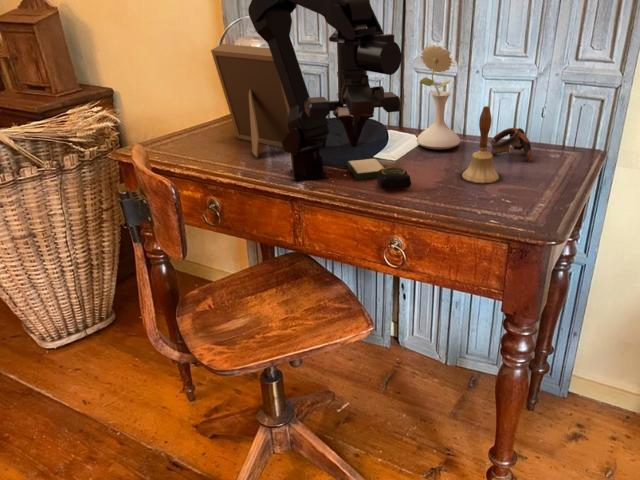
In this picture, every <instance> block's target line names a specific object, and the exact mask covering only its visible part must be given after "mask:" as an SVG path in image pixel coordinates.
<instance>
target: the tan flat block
mask: <svg viewBox="0 0 640 480" xmlns="http://www.w3.org/2000/svg"><path fill="white" fill-rule="evenodd" d="M346 163H347V169H348V170H349V172H351V174H352V175H353V176H354V178H355V179H356V181H361V180H370V179H377V173H378V171H379V170H381V169H383V168H384V166H383V165H382V164H381V163H380V162H379V161H378V160H377V159H376V158H366V159H357V160H348V161H347V162H346Z"/></svg>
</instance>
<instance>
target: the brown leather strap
mask: <svg viewBox="0 0 640 480" xmlns="http://www.w3.org/2000/svg"><path fill="white" fill-rule="evenodd" d="M508 136H509V138H507V139H505V140H503V141H500V140H502V139H504V138H505V137H508ZM490 145H491V148H490V153H491V154H492V156H495V155H498V154H503V153H506V154H510V147H511V146H512V147H513V150H515V151H521V150H523V155H524V156H526V157H527V162H531V161H532V159H533V150H532V147H531V146H532V145H531V142H530V140H529V138H528V136H527V135H526V133H525V130H524V129H523V128H521V127H509V128H506V129H503V130H501V131H500V132H498V133H496V135H494V136H493V139H491V141H490Z"/></svg>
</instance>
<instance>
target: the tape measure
mask: <svg viewBox="0 0 640 480" xmlns="http://www.w3.org/2000/svg"><path fill="white" fill-rule="evenodd" d="M376 184H377V186H378V187H379V188H380V189H381V190H385V191H387V190H390V191H396V190H403V189H409V188H410V187H411V186H412V181H411V175H410V174H408V171H407V170H406V169H404V168H403V167H399V166H388V167H387V166H386V167H383V169H381V170H379V171H378V173H377V178H376Z"/></svg>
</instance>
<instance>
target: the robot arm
mask: <svg viewBox="0 0 640 480" xmlns="http://www.w3.org/2000/svg"><path fill="white" fill-rule="evenodd" d="M297 5H298V6H300V7H302V8H305V9H307V10H308V11H311V12H314V13H317V14H318V15H320V16H322V17H323V18H324V20H325V23H326V24H328V25H329V26H330V27H332V28H333V29H335V30H334V32H333V33H332V34H331V35H330V36H329V38H328V41H329V42H331V43H336V52H337V53H336V57H337V59H336V61H337V62H336V63H337V71H336V77H337V91H338V92H337V99H338V100H328V99H326V97H325V96H313V97H310V94H309V90H308V87H307V85H306V81H305V78H304V75H303V71H302V70H301V66H300V64H299V60H298V57H297V55H296V51H295V47H294V45H293V42H292V39H291V36H290V35H291V31H292V26H293V18H292V13H293V12H294V11H295V10H296V8H297ZM247 11H248V16H249V19H250V21H251V24H252V26H253V28H254V30H255V32H256V34H258V35H259V36H260V37H261V38H262V39H263V40H264V41H265V42H266V43H267V46H268V48H270V51H271V54H272V57H273V60H274V63H275V66H276V69H277V72H278V75H279V78H280V81H281V84H282V87H283V90H284V93H285V96H286V99H287V102H288V105H289V108H290V111H289V116H288V122H287V124H288V128H289V133H288V134H287V136H286V137H285V138H284V140H283V141H282V145H283V147H282V148H283V151H284V152H285V153H287V154H290V161H291V162H290V163H291V169H290V174H291V176H292V177H293V180H294V181H305V180H314V179H322V178H323V173H324V166H323V165H324V164H323V163H324V162H323V155H322V154H321V151H320V150H321V149H322V148H323V149H324V148H326V145H327V141H328V136H329V134H330V130H329V129H330V128H329V125H330V122H329V121H328V119H327V117H328V116H329V115H330V112H332V115H333V117H335V118H336V119H337V120H338V121H340V122H341V123H342V126H343V128H344V131H345V134H346V136H347V139H348V141H349V144H350V147H351V148H357V146H358V143H359V140H360V137H361V134H362V131H363V128H364V127H365V124H366V122H367V121H368V120H369V119H371V118H374V116H375V114H374V113H375V109H376V108H382V109H383V110H384V111H385V112H386V113H398V112H402V99H401V98H400V97H399V96H398V95H397V94H395V93H394V92H392V91H385V88H384V87H383V86H382V85H379V86H372V87H371V85H370V79H369V74H368V72H371V73H377V74H382V75H388V76H392V75H394V74H396V73H397V71H398V70H399V69H400V67H401V63H402V59H403V56H402V55H403V54H402V51H401V48H400V45H399V44H398V43H397V42H396V41H395V34H393V33H386V34H384V30H383V28H382V26H381V24H380V22H379V20H378V17H377V16H376V14H375V11H374V9H373V7H372V5H371V0H251V1H250V4H249V5H248V10H247Z"/></svg>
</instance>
